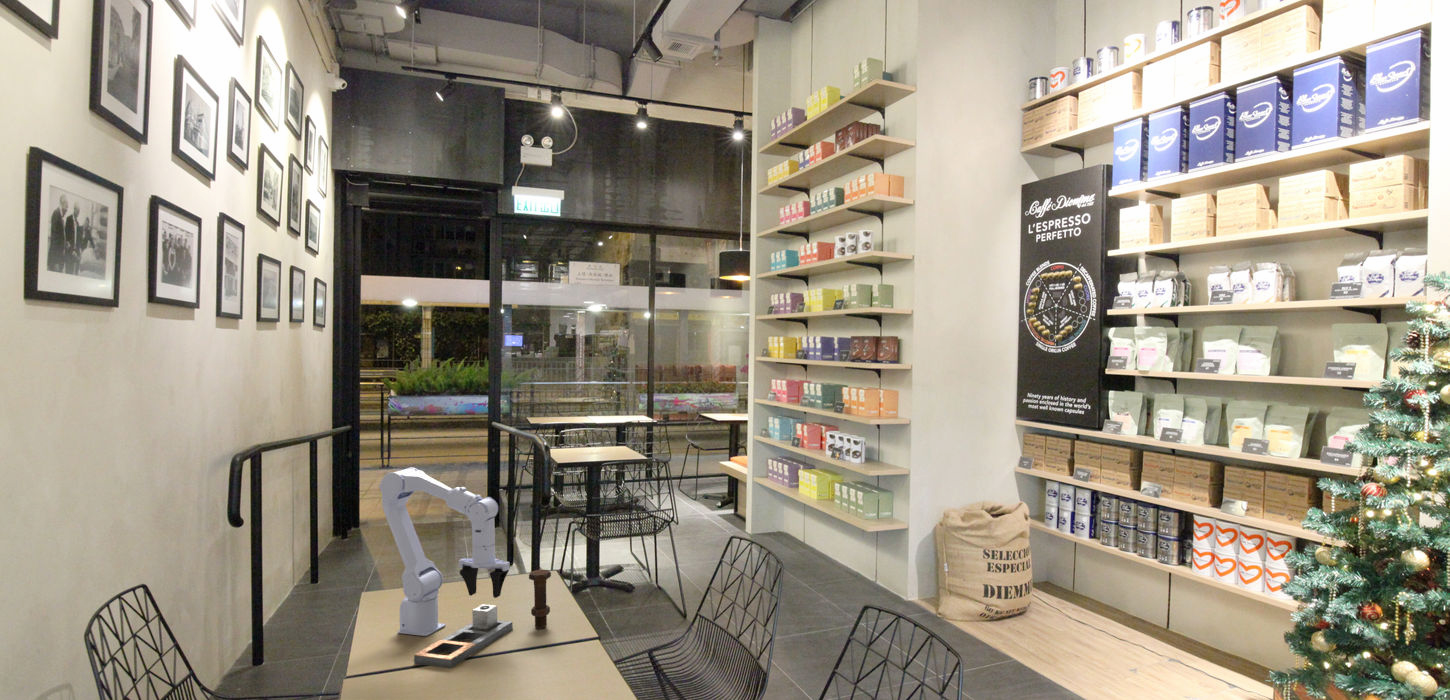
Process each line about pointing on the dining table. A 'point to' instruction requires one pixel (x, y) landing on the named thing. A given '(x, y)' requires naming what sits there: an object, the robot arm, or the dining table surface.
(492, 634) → the frame with rectangular openings
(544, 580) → the bolt
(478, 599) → the dining table surface
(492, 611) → the grey rectangular block
